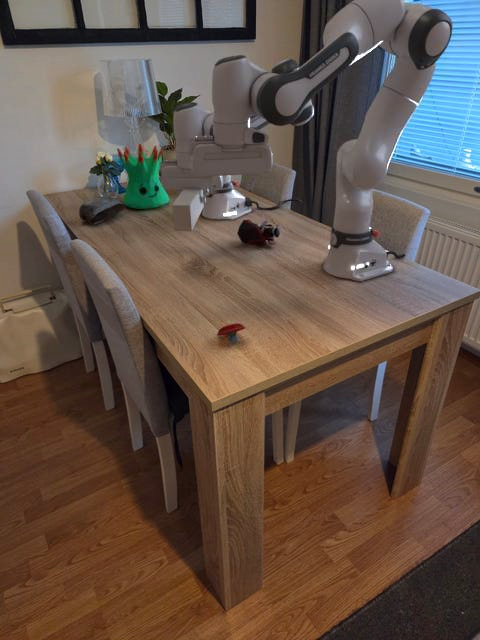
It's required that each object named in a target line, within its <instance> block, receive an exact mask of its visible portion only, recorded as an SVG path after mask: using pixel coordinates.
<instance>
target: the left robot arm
mask: <svg viewBox="0 0 480 640" xmlns="http://www.w3.org/2000/svg"><path fill="white" fill-rule="evenodd" d="M300 67H301V66H300V65H299V64H298V62H297V61H296V60H295V59H292V58H288V59H282V60H280V61H279V62H277V63H276V64H275V65H274V66H273V68H271V71H270V72H271V73H275V74H285V73H291V72H293V71H296V70H297V69H299V68H300ZM213 115H214V111H211V110H208V109H207V108H205V107H203V106H201V104H199V103H198V102H195V101H191V102H189V101H188V102H184V103H181V104H179V105H178V106H176V107H175V109H174V111H173V119H172V120H173V136H174V139H175V156H176V157H175V158H176V159H174V158H173V159H167V158H166V159H162V161H161V163H160V169H159V172H160V173H161V176H160V178H161V179H160V180H161V181H160V183H161V185H162V187H163V189H164V190H176V194H177V195H178V196H179V195H180V193H181V192H182V190H183V189H184V188H200V190H203V196H202V197H201V203H204V207H203V209H202V211H201V216H202V217H204V218H205V219H210V220H229V221H230V220H235V219H237V218H240V217H242V216H244V215H246V214H249V213H250V212H252V208H251V207H253V204H255V205H256V208H257V209H259V210H266V211H267V210H271V211H272V210H276V209H279V208H281V206H282V204H284V203H289V202H298V203H299V204H303V201H302V200H300V199H299V198H289V199H285V200H281V201H280V202H279V203H278V205H276V206H272V207H262V206H259V203H258V202H257V201H255V200H252V199H251V198H250V197H245V196H244V195H243V194H242V193H240V191H238V190H236V189H235V187H238V186H239V183H240V182H239V181H237V180H232V175H227V176H212V181H210V182H211V183H212V185H213V186H216V187H217V194H211V193H210V186H209V184H208V182H207V181H206V179H205V177H195V176H194V175H193V174H192V172H191V154H190V153H189V142H190V140H191V139H192V138H194V137H195V136H207V135H213ZM314 115H315V108H314V104H313V102H312V98H311V99H310V101H309V102H308V103H307V105H306V106H305V108H304V109H303V111H302V112H301V114H300V115H299V117H298V118H297V119H296V120H295V121H293V122H292V123H290V124H289V125H290V126H293V127H294V126H297V127H299V126H303V125H305V124H307V123H308V122H309V121H310V120H311V119H312V118H314V117H313V116H314ZM268 125H271V123H269V122H268V121H267V120H265V119H263V118H261V117H259V116H257V115H255V116H251V117H250V127H255V128H257V129H259V130H262V129H263V128H265V127H267V126H268ZM193 141H195V140H193ZM202 141H205V140H202Z"/></svg>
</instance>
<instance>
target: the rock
mask: <svg viewBox="0 0 480 640" xmlns="http://www.w3.org/2000/svg"><path fill="white" fill-rule="evenodd" d="M125 209H126V205H125V204H124V203H121V201H120V198H113V199H112V197H111V196H108V197H107V196H101V197H98V198H94V199H91V200H87V201H85V202H83V203H82V204H81V205H80V206H79V210H78V216H79V219H80V220H81V221H82V222H86V221H87V222H88V223H89V224H91V225H96V224H98V223H101V222H102V221H105V220H108V219H109V218H111V217H113V216H115V215H117V214H119V213H121V212H123V211H125Z"/></svg>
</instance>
